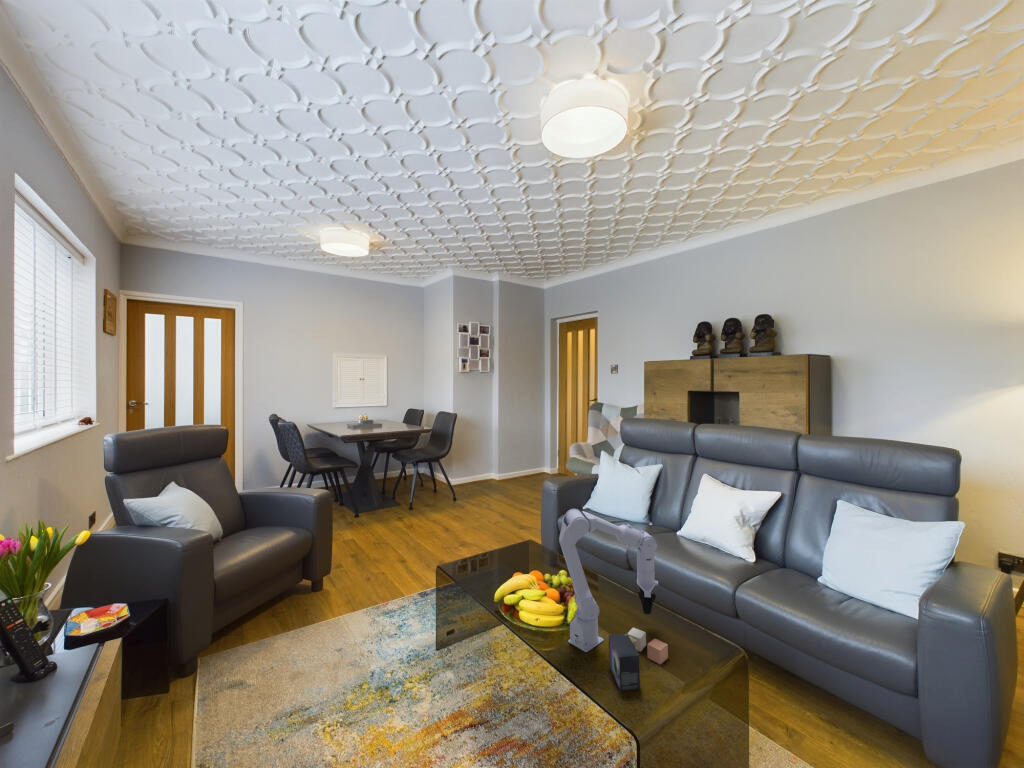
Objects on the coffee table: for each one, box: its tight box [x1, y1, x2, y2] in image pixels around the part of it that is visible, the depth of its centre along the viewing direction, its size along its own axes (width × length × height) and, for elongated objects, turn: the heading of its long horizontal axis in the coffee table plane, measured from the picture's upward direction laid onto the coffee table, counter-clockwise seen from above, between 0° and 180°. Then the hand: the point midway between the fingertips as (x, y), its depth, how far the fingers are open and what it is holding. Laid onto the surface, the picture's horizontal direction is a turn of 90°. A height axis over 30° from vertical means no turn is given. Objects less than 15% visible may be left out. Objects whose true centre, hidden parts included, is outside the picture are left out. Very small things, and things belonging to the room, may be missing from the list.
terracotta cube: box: [646, 638, 669, 665], centre depth 142 cm, size 4×4×4 cm
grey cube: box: [626, 627, 647, 653], centre depth 148 cm, size 4×4×4 cm
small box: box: [608, 633, 642, 692], centre depth 133 cm, size 11×6×10 cm, turn 5°
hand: (646, 607), depth 154 cm, fingers open, 7 cm apart
